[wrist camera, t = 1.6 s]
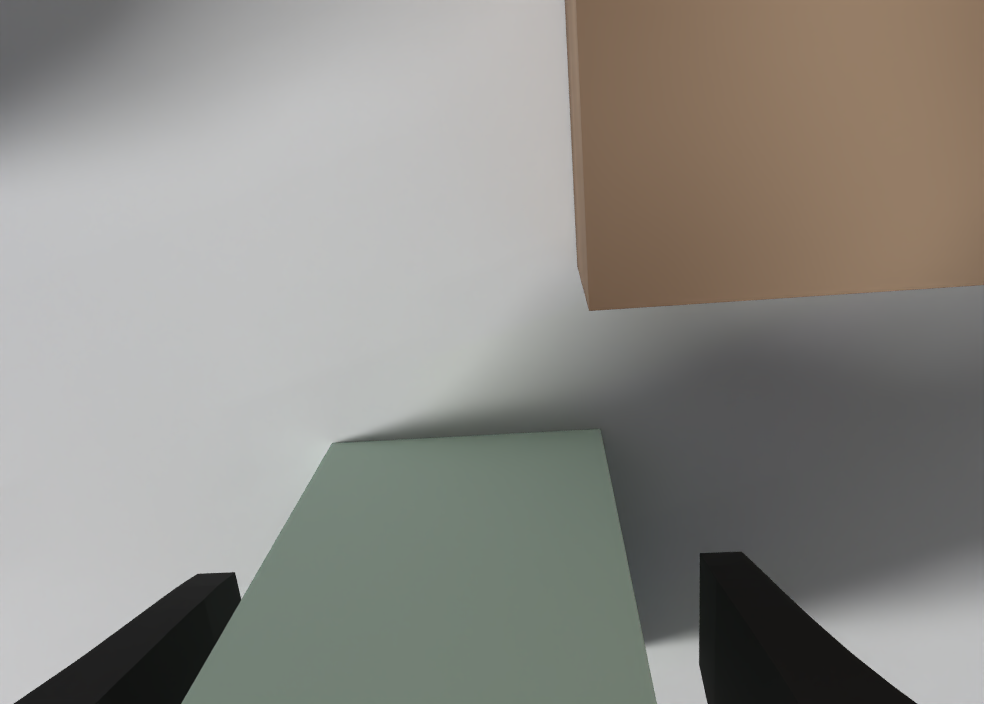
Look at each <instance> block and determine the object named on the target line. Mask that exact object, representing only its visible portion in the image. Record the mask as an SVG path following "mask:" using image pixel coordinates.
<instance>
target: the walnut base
mask: <svg viewBox="0 0 984 704" xmlns="http://www.w3.org/2000/svg"><path fill="white" fill-rule="evenodd" d="M565 14H566V35H567V56H568V77H569V99H570V120H571V141H572V162H573V183H574V204H575V226H576V247H577V267H578V270H579V274H580V278H581V282H582V285H583V289H584V293H585V297H586V301H587V304H588V308H589V311H595V310H610V309H625V308H640V307H656V306H671V305H686V304H701V303H716V302H732V301H747V300H762V299H777V298H793V297H808V296H823V295H838V294H853V293H869V292H884V291H899V290H914V289H930V288H945V287H960V286H975V285H984V0H565Z"/></svg>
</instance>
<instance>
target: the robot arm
mask: <svg viewBox="0 0 984 704" xmlns="http://www.w3.org/2000/svg"><path fill="white" fill-rule="evenodd" d="M240 601H241V597H240V592H239V588H238V584H237V579H236V575H235V572H232V573H207V574H197V575H195V576H194V577H192V578H190V579H189V580H187V581H186V582H184V583H183V584H181V585H180V586H178V587H177V588H175V589H174V590H173V591H171V592H170V593H168V594H167V595H166V596H164V597H163V598H161V599H160V600H159V601H157V602H156V603H155V604H153V605H152V606H151V607H149V608H148V609H146V610H145V611H144V612H142V613H141V614H140V615H138V616H137V617H136V618H134V619H133V620H132V621H130V622H129V623H128V624H126V625H125V626H123V627H122V628H121V629H119V630H118V631H117V632H115V633H114V634H113V635H111V636H110V637H108V638H107V639H106V640H104V641H103V642H102V643H100V644H99V645H98V646H96V647H95V648H93V649H92V650H91V651H89V652H88V653H87V654H85V655H84V656H83V657H81V658H80V659H78V660H77V661H75V662H74V663H72V664H71V665H70V666H68V667H67V668H65V669H64V670H62V671H61V672H59V673H58V674H56V675H55V676H53V677H52V678H51V679H49V680H48V681H46V682H45V683H43V684H42V685H40V686H39V687H37V688H36V689H35V690H33V691H32V692H30V693H29V694H27V695H26V696H24V697H23V698H21V699H20V700H18V701H17V702H16V703H14V704H181V703H182V702H183V700H184V698H185V696H186V695H187V693H188V691H189V689H190V688H191V686H192V684H193V683H194V681H195V679H196V677H197V676H198V674H199V672H200V670H201V669H202V667H203V665H204V664H205V662H206V660H207V658H208V657H209V655H210V653H211V651H212V650H213V648H214V646H215V645H216V643H217V641H218V639H219V638H220V636H221V634H222V632H223V631H224V629H225V627H226V626H227V624H228V622H229V620H230V619H231V617H232V615H233V613H234V612H235V610H236V608H237V607H238V605H239V603H240ZM699 666H700V670H701V675H702V680H703V684H704V689H705V693H706V698H707V703H708V704H917V703H915V702H914V701H913V700H911V699H910V698H909V697H907V696H906V695H905V694H903V693H902V692H900V691H899V690H898V689H896V688H895V687H894V686H892V685H891V684H890V683H889V682H887V681H886V680H885V679H884V678H882V677H881V676H880V675H879V674H877V673H876V672H875V671H873V670H872V669H871V668H870V667H868V666H867V665H866V664H865V663H863V662H862V661H861V660H859V659H858V658H857V657H856V656H855V655H853V654H852V653H851V652H850V651H849V650H847V649H846V648H845V647H844V646H843V645H842V644H840V643H839V642H838V641H837V640H836V639H835V638H834V637H832V636H831V635H830V634H829V633H828V632H827V631H826V630H825V629H823V628H822V627H821V626H820V625H819V624H818V623H817V622H815V621H814V620H813V619H812V618H811V617H810V616H809V615H808V614H807V613H806V612H805V611H803V610H802V609H801V608H800V607H799V606H798V605H797V604H796V603H795V602H794V601H793V600H792V599H791V598H790V597H789V596H788V595H786V594H785V593H784V592H783V591H782V590H781V589H780V588H779V587H778V586H777V585H776V584H775V583H774V582H773V581H772V580H771V579H770V578H769V577H768V576H767V575H766V574H765V573H764V572H763V571H762V570H761V569H759V568H758V567H757V566H756V565H755V564H754V563H753V562H752V561H751V560H750V559H749V558H748V557H747V556H746V555H745V554H744V553H742V552H721V553H700V628H699Z"/></svg>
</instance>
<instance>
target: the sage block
mask: <svg viewBox="0 0 984 704" xmlns="http://www.w3.org/2000/svg"><path fill="white" fill-rule="evenodd" d="M181 704H657V702H656V697H655V692H654V688H653V683H652V678H651V673H650V668H649V663H648V658H647V654H646V649H645V644H644V639H643V634H642V629H641V624H640V620H639V615H638V610H637V605H636V600H635V595H634V590H633V585H632V581H631V576H630V571H629V566H628V561H627V556H626V551H625V547H624V542H623V537H622V532H621V527H620V522H619V517H618V512H617V508H616V503H615V498H614V493H613V488H612V483H611V478H610V474H609V469H608V464H607V459H606V454H605V449H604V444H603V440H602V435H601V430H600V429H588V430H569V431H551V432H532V433H513V434H495V435H476V436H457V437H439V438H420V439H401V440H383V441H364V442H346V443H332V444H331V446H330V448H329V449H328V451H327V453H326V455H325V456H324V458H323V460H322V462H321V463H320V465H319V467H318V468H317V470H316V472H315V474H314V475H313V477H312V479H311V481H310V482H309V484H308V486H307V487H306V489H305V491H304V493H303V494H302V496H301V498H300V500H299V501H298V503H297V505H296V506H295V508H294V510H293V512H292V513H291V515H290V517H289V519H288V520H287V522H286V524H285V525H284V527H283V529H282V531H281V532H280V534H279V536H278V537H277V539H276V541H275V543H274V544H273V546H272V548H271V550H270V551H269V553H268V555H267V556H266V558H265V560H264V562H263V563H262V565H261V567H260V569H259V570H258V572H257V574H256V575H255V577H254V579H253V581H252V582H251V584H250V586H249V588H248V589H247V591H246V593H245V594H244V596H243V598H242V600H241V601H240V603H239V605H238V607H237V608H236V610H235V612H234V613H233V615H232V617H231V619H230V620H229V622H228V624H227V626H226V627H225V629H224V631H223V632H222V634H221V636H220V638H219V639H218V641H217V643H216V645H215V646H214V648H213V650H212V651H211V653H210V655H209V657H208V658H207V660H206V662H205V664H204V665H203V667H202V669H201V670H200V672H199V674H198V676H197V677H196V679H195V681H194V683H193V684H192V686H191V688H190V689H189V691H188V693H187V695H186V696H185V698H184V700H183V702H182V703H181Z"/></svg>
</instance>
